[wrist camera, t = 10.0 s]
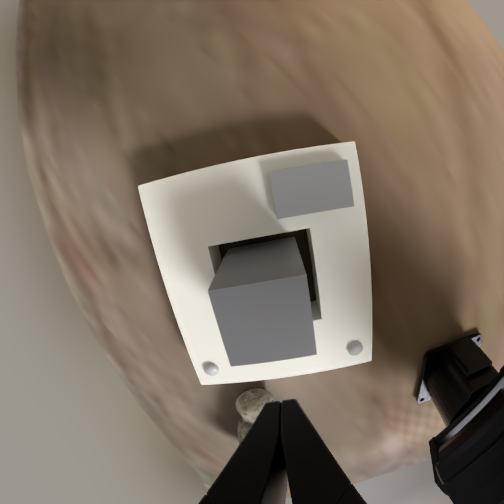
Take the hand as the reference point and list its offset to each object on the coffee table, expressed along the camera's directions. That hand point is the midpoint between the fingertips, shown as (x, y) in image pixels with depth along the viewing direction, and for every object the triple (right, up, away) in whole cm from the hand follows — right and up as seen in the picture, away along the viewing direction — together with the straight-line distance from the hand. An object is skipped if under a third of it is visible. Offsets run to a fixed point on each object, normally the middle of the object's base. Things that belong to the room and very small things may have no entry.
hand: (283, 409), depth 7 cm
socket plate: (0, +3, +11) cm, 12 cm away
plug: (0, +3, +11) cm, 12 cm away
